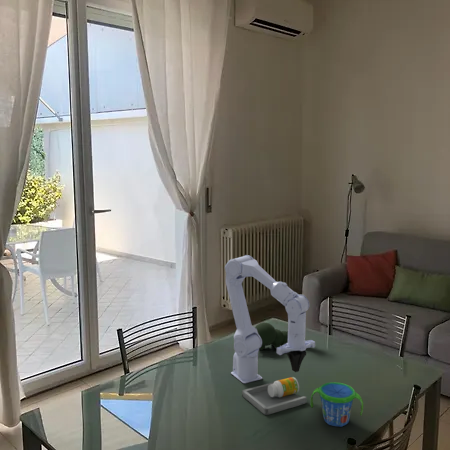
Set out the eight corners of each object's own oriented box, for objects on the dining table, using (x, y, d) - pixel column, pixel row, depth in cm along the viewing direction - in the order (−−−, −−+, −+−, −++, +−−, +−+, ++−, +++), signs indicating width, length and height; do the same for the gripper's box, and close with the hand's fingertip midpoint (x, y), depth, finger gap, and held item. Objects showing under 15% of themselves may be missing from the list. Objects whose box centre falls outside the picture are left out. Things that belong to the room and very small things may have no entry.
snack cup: (306, 423, 152) (307, 391, 151) (315, 407, 162) (316, 377, 160) (358, 436, 146) (360, 403, 144) (364, 418, 155) (366, 387, 154)
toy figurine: (295, 344, 218) (241, 345, 210) (300, 301, 216) (245, 301, 208) (305, 352, 210) (249, 354, 201) (310, 308, 207) (254, 308, 199)
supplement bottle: (301, 388, 167) (277, 394, 162) (295, 395, 170) (271, 402, 166) (294, 373, 170) (270, 379, 166) (288, 381, 174) (264, 387, 169)
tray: (242, 396, 169) (242, 390, 168) (281, 385, 176) (281, 380, 176) (265, 415, 157) (265, 409, 156) (306, 403, 164) (306, 397, 164)
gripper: (285, 339, 160) (284, 380, 162) (321, 332, 167) (320, 370, 169) (273, 332, 167) (272, 371, 169) (308, 325, 173) (306, 363, 176)
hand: (295, 370), depth 169 cm, fingers closed
